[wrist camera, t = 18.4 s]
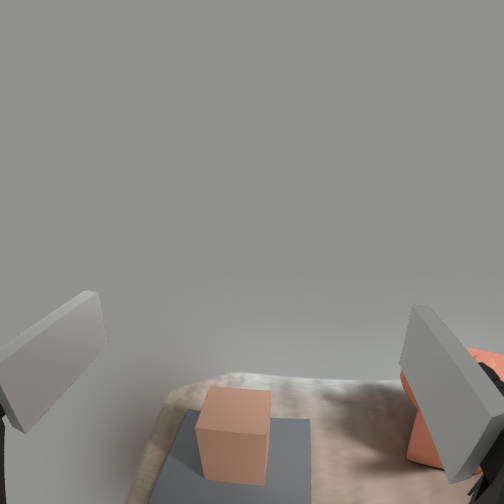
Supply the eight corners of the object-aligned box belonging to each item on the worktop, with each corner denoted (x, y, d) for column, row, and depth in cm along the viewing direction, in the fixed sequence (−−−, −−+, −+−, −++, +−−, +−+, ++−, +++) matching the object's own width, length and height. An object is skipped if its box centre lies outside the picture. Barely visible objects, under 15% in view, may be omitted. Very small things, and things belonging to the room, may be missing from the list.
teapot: (397, 393, 45) (416, 320, 41) (509, 416, 32) (541, 344, 28) (354, 479, 29) (383, 402, 26) (504, 510, 16) (566, 434, 13)
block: (268, 445, 36) (271, 391, 33) (264, 485, 29) (266, 434, 26) (216, 440, 36) (210, 386, 34) (204, 479, 30) (194, 427, 27)
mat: (309, 421, 40) (309, 419, 40) (310, 525, 23) (310, 523, 23) (188, 412, 42) (188, 409, 42) (148, 505, 25) (147, 502, 25)
